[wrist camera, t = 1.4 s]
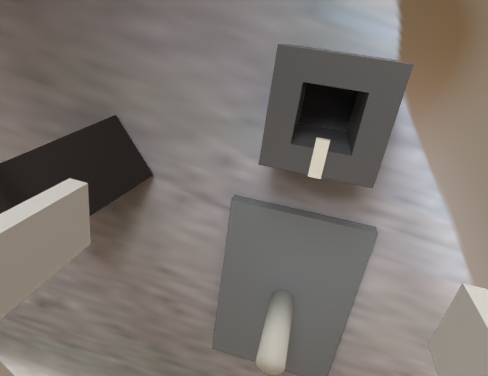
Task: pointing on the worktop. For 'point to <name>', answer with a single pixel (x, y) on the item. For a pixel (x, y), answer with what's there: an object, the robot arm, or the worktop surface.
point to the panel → (288, 285)
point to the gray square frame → (324, 139)
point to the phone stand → (77, 166)
